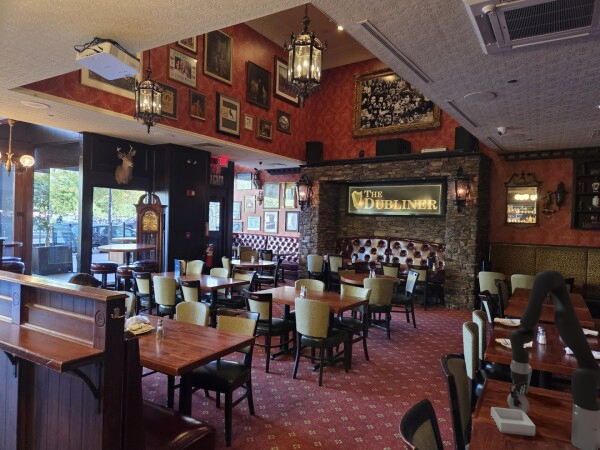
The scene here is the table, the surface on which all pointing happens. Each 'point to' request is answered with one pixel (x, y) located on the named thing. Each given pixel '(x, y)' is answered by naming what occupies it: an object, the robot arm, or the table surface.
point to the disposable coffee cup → (528, 377)
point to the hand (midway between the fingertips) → (518, 404)
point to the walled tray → (513, 421)
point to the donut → (523, 403)
